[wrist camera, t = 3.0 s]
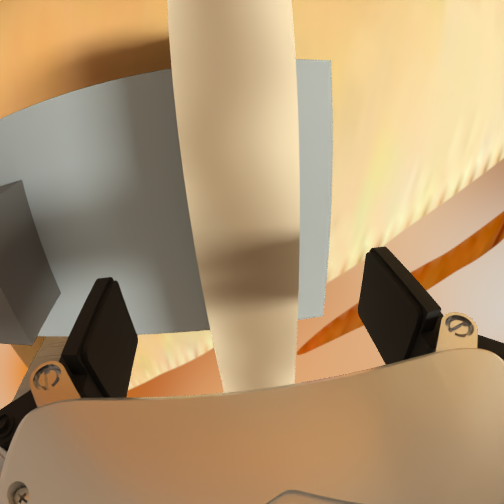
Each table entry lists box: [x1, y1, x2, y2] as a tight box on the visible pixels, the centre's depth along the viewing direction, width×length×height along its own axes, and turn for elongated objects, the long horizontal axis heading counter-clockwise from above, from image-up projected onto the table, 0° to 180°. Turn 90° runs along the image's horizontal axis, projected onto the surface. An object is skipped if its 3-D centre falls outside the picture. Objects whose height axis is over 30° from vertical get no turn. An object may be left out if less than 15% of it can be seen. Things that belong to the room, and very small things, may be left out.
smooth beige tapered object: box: [167, 0, 300, 393], centre depth 14 cm, size 4×24×4 cm, turn 3°
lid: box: [0, 59, 333, 345], centre depth 15 cm, size 26×16×8 cm, turn 93°
